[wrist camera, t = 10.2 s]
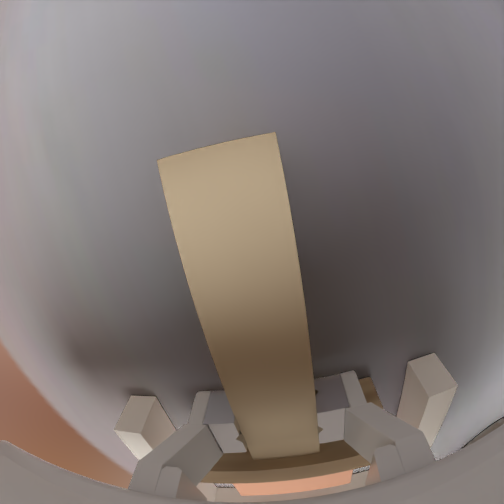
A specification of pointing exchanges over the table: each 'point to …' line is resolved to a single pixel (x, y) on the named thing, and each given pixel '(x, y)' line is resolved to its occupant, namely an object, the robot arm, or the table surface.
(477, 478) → the robot arm
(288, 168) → the table surface
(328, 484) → the tile
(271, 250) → the wooden t-shaped pusher
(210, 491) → the corral
